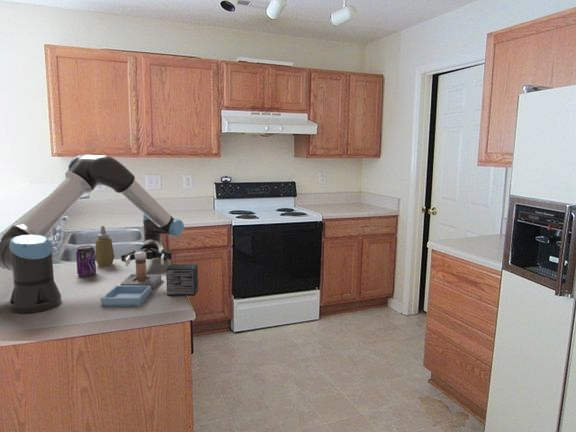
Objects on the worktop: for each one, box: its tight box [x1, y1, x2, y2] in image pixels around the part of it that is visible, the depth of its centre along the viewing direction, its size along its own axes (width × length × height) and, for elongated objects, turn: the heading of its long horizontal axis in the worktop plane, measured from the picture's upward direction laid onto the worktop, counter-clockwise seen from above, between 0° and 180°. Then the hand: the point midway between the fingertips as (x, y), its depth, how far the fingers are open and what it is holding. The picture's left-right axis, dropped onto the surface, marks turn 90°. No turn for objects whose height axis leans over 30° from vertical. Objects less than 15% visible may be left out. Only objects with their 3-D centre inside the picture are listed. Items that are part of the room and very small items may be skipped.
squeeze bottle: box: [94, 225, 115, 268], centre depth 190 cm, size 8×8×18 cm
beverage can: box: [75, 244, 97, 277], centre depth 177 cm, size 7×7×12 cm
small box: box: [165, 263, 199, 297], centre depth 156 cm, size 11×6×10 cm, turn 92°
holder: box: [119, 273, 162, 291], centre depth 165 cm, size 12×12×2 cm
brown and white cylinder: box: [134, 250, 148, 281], centre depth 164 cm, size 4×4×13 cm
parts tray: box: [100, 285, 152, 308], centre depth 149 cm, size 13×13×3 cm
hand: (144, 262), depth 171 cm, fingers open, 13 cm apart
